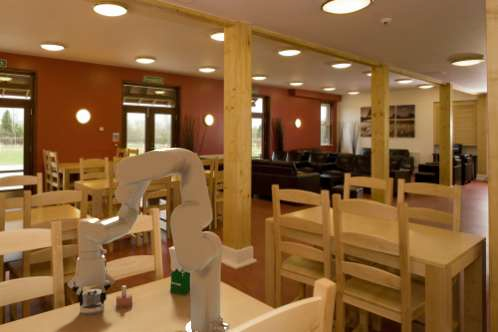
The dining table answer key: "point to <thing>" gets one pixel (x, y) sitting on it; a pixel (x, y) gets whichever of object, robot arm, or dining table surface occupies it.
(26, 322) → the dining table surface
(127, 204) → the robot arm
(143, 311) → the dining table surface
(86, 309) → the hub
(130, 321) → the dining table surface
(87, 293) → the grey short cylinder
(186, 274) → the milk carton
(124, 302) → the stand
